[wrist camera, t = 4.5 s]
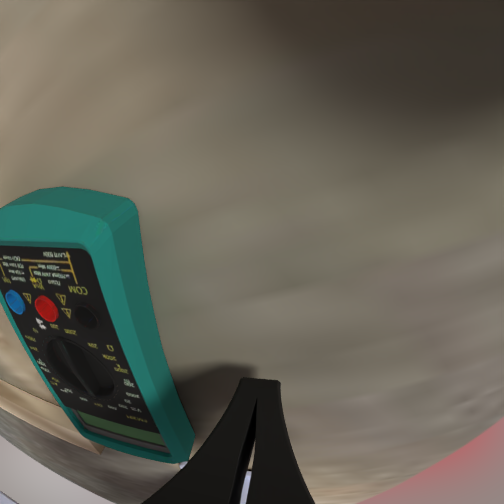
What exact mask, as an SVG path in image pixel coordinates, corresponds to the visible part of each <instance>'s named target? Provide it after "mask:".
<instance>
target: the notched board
mask: <svg viewBox="0 0 504 504" xmlns="http://www.w3.org/2000/svg"><path fill="white" fill-rule="evenodd" d="M0 407H1V408H3V409H4V410H6V411H8V412H10V413H11V414H13V415H15V416H17V417H18V418H20V419H22V420H24V421H26V422H28V423H30V424H31V425H33V426H35V427H37V428H39V429H41V430H43V431H45V432H47V433H50V434H52V435H54V436H56V437H58V438H60V439H63V440H65V441H67V442H69V443H72V444H74V445H76V446H79V447H81V448H84V449H86V450H89V451H91V452H94V453H97V454H99V455H101V453H102V451H103V449H104V447H105V446H103V445H101V444H98V443H96V442H93V441H91V440H88V439H86V438H85V437H83V436H82V435H81V434H80V433H79V432H78V430H77V429H76V428H75V426H74V425H73V423H72V422H71V421H70V419H69V418H68V416H67V415H66V414H65V412H64V411H63V409H62V408H61V407H59V406H56V405H54V404H51V403H49V402H47V401H44V400H42V399H40V398H38V397H35V396H33V395H31V394H29V393H27V392H25V391H23V390H21V389H19V388H16V387H14V386H12V385H11V384H9V383H7V382H5V381H3V380H1V379H0Z"/></svg>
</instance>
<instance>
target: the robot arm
mask: <svg viewBox="0 0 504 504" xmlns="http://www.w3.org/2000/svg"><path fill="white" fill-rule="evenodd" d="M280 384H281V383H280V382H279V381H278V380H267V379H256V378H245V377H243V378H242V379H240V382H239V385H238V387H237V390H236V392H235V394H234V396H233V398H232V400H231V402H230V404H229V405H228V407H227V409H226V411H225V412H224V414H223V416H222V417H221V419H220V421H219V422H218V424H217V425H216V427H215V428H214V430H213V431H212V433H211V434H210V435H209V437H208V438H207V439H206V441H205V442H204V444H203V445H202V446H201V447H200V449H199V450H198V451H197V452H196V453H195V455H194V456H193V457H192V458H191V459H190V460H189V461H188V462H187V461H186V462H181V463H180V465H179V466H180V468H181V470H180V471H179V472H178V473H177V474H176V475H175V476H174V477H173V478H172V479H171V480H170V481H169V482H168V483H166V484H165V485H164V486H163V487H162V488H160V489H159V490H158V491H157V492H156V493H154V494H153V495H152V496H151V497H150V498H148V499H147V500H146V501H144V502H143V503H141V504H315V502H314V500H313V498H312V496H311V495H310V493H309V490H308V488H307V486H306V484H305V481H304V479H303V477H302V474H301V472H300V469H299V467H298V464H297V461H296V459H295V456H294V453H293V450H292V446H291V443H290V440H289V436H288V432H287V428H286V424H285V420H284V415H283V409H282V403H281V391H280ZM254 442H255V453H254V461H253V466H252V471H247V469H248V465H249V461H250V458H251V454H252V450H253V446H254ZM0 504H18V503H17V502H15V501H14V500H13V499H11V498H10V497H8V496H7V495H6V494H4V493H3V492H1V491H0Z"/></svg>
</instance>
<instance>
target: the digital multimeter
mask: <svg viewBox="0 0 504 504" xmlns="http://www.w3.org/2000/svg"><path fill="white" fill-rule="evenodd" d="M0 302H1V304H2V306H3V309H4V311H5V313H6V315H7V317H8V319H9V321H10V323H11V325H12V327H13V328H14V330H15V332H16V334H17V336H18V338H19V340H20V341H21V343H22V345H23V347H24V348H25V350H26V352H27V354H28V355H29V357H30V359H31V361H32V362H33V364H34V366H35V367H36V369H37V371H38V372H39V374H40V376H41V377H42V379H43V381H44V382H45V384H46V385H47V387H48V388H49V390H50V391H51V393H52V394H53V396H54V397H55V399H56V400H57V402H58V403H59V405H60V406H61V408H62V409H63V411H64V412H65V414H66V415H67V416H68V418H69V419H70V421H71V422H72V423H73V425H74V426H75V428H76V429H77V430H78V432H79V433H80V434H81V435H82V436H83V437H85V438H86V439H88V440H91V441H93V442H96V443H98V444H101V445H103V446H106V447H109V448H112V449H115V450H117V451H121V452H124V453H127V454H131V455H134V456H138V457H142V458H146V459H151V460H155V461H160V462H165V463H171V464H175V463H181V462H186V461H188V460H189V456H190V453H191V450H192V446H193V443H194V439H195V433H194V431H193V429H192V427H191V425H190V422H189V420H188V418H187V416H186V413H185V411H184V409H183V406H182V404H181V402H180V399H179V397H178V394H177V391H176V388H175V385H174V382H173V379H172V376H171V373H170V370H169V367H168V364H167V361H166V358H165V355H164V352H163V349H162V345H161V341H160V336H159V332H158V328H157V324H156V319H155V315H154V310H153V306H152V301H151V296H150V291H149V286H148V281H147V275H146V268H145V262H144V255H143V248H142V241H141V233H140V225H139V217H138V211H137V208H136V206H135V204H134V203H133V202H132V201H131V200H130V199H129V198H125V197H121V196H116V195H112V194H107V193H102V192H98V191H93V190H88V189H79V188H70V187H55V188H47V189H39V190H37V191H34V192H31V193H29V194H26V195H24V196H22V197H20V198H18V199H16V200H14V201H12V202H10V203H9V204H7V205H5V206H3V207H2V208H0ZM110 316H111V317H110ZM111 319H112V320H111ZM112 322H113V323H112ZM115 330H116V331H115ZM116 333H117V334H116ZM118 338H119V339H118ZM119 341H120V342H119ZM121 346H122V347H121ZM122 349H123V350H122ZM123 351H124V352H123ZM124 354H125V355H124ZM125 356H126V357H125ZM126 359H127V360H126ZM127 361H128V362H127ZM128 364H129V365H128ZM129 366H130V367H129ZM130 368H131V369H130ZM131 371H132V372H131ZM132 373H133V374H132ZM133 376H134V377H133ZM134 378H135V379H134ZM135 380H136V381H135ZM136 382H137V384H136ZM137 385H138V386H137ZM138 387H139V388H138ZM139 389H140V390H139ZM140 392H141V393H140ZM84 394H85V395H84ZM141 394H142V395H141ZM86 395H87V396H86ZM89 396H90V397H89ZM142 396H143V397H142ZM95 398H96V399H95ZM143 398H144V399H143ZM99 399H101V400H99ZM109 399H110V400H109ZM144 400H145V401H144ZM146 405H147V406H146ZM147 407H148V408H147ZM148 409H149V410H148ZM149 411H150V412H149ZM150 413H151V414H150ZM151 415H152V416H151ZM152 417H153V418H152ZM153 419H154V420H153ZM154 421H155V422H154ZM155 423H156V424H155Z"/></svg>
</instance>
